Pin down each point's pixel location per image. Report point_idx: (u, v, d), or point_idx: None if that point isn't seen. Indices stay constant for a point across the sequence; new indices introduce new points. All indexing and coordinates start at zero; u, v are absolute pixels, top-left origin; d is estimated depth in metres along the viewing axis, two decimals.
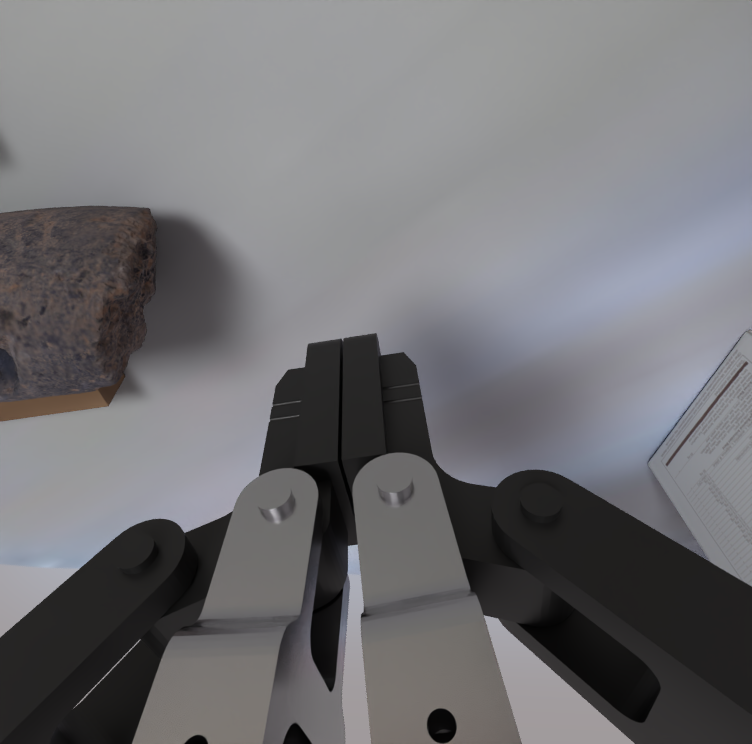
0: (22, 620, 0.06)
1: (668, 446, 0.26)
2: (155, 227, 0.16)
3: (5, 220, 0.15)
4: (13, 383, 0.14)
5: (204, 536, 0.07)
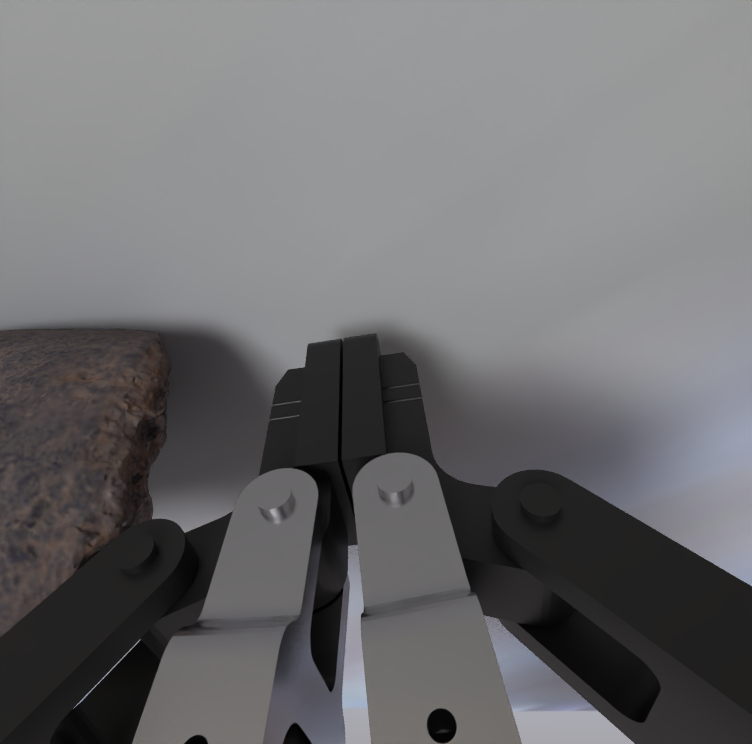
0: (22, 620, 0.06)
1: None
2: (168, 368, 0.10)
3: None
4: None
5: (203, 536, 0.07)
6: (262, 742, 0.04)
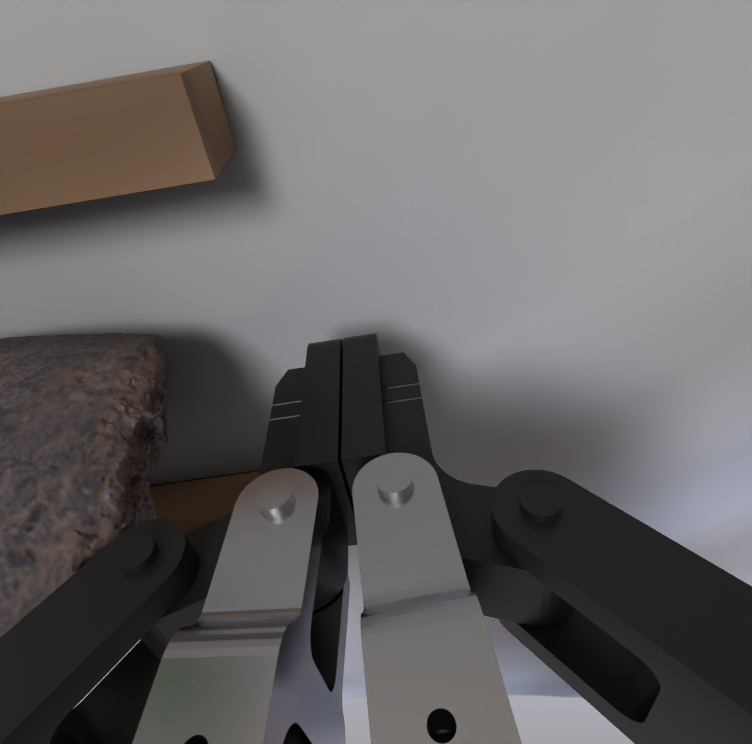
0: (22, 620, 0.06)
1: None
2: (166, 370, 0.10)
3: None
4: None
5: (204, 536, 0.07)
6: (262, 742, 0.04)
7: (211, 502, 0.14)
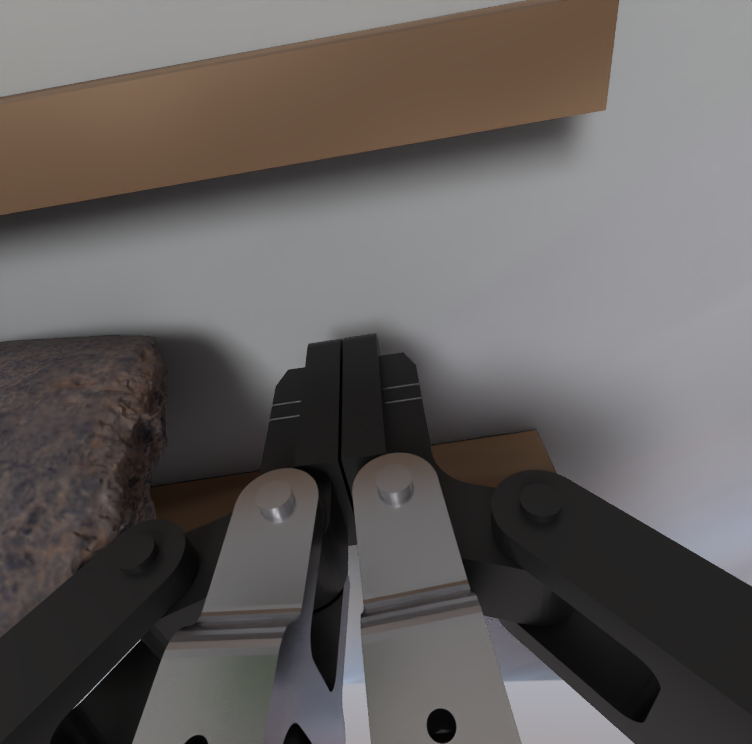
0: (22, 620, 0.06)
1: None
2: (164, 371, 0.10)
3: None
4: None
5: (204, 535, 0.07)
6: (262, 742, 0.04)
7: None
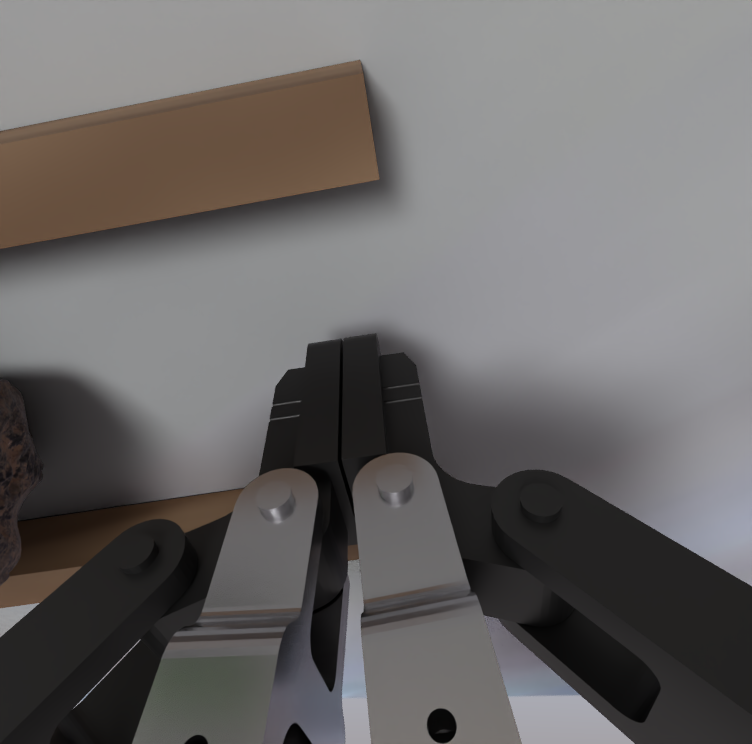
0: (22, 620, 0.06)
1: None
2: (4, 416, 0.10)
3: None
4: None
5: (203, 535, 0.07)
6: (262, 742, 0.04)
7: None
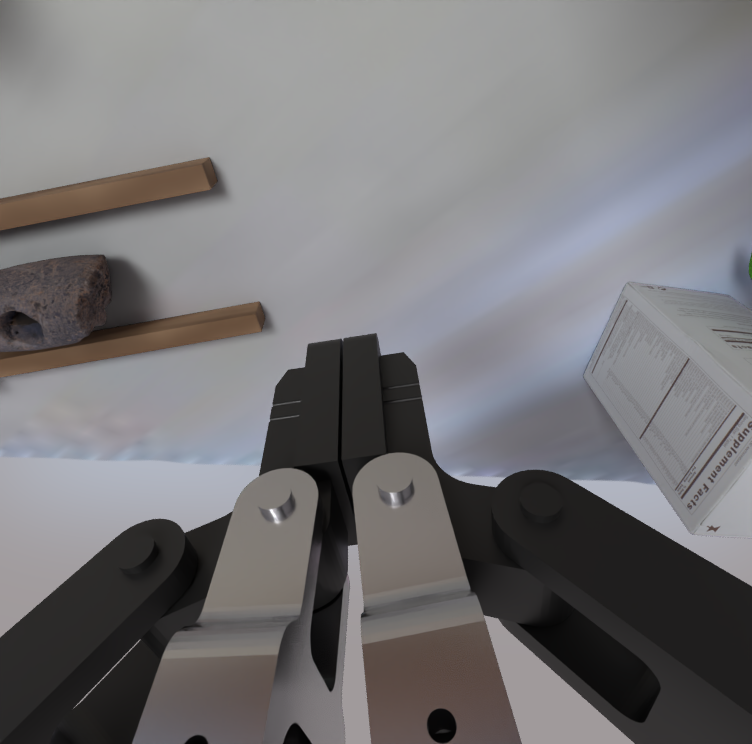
0: (22, 620, 0.06)
1: (592, 361, 0.42)
2: (106, 263, 0.33)
3: (36, 265, 0.32)
4: (41, 338, 0.32)
5: (204, 536, 0.07)
6: (262, 742, 0.04)
7: (213, 315, 0.37)
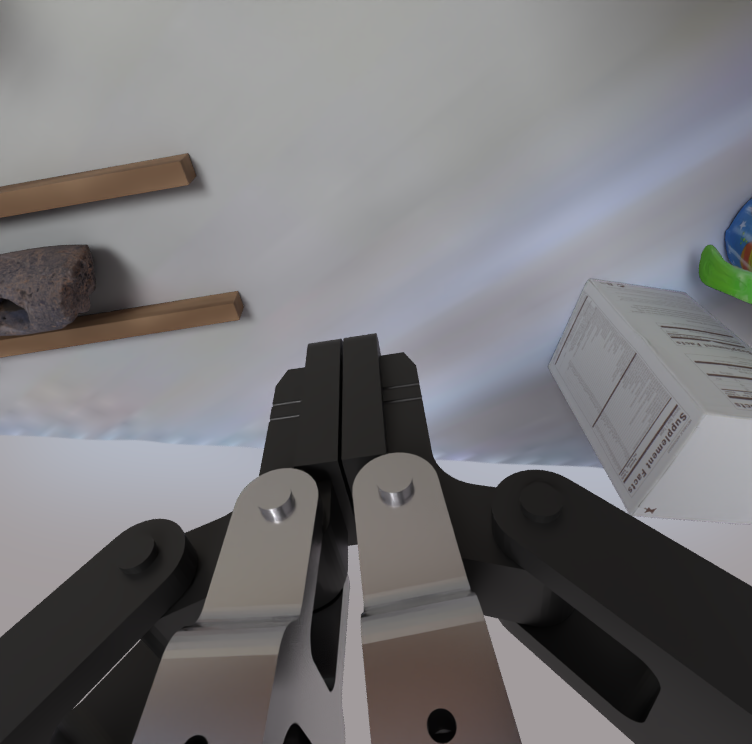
0: (22, 620, 0.06)
1: (556, 352, 0.44)
2: (89, 253, 0.35)
3: (22, 254, 0.33)
4: (27, 324, 0.33)
5: (203, 536, 0.07)
6: (262, 742, 0.04)
7: (193, 303, 0.39)
